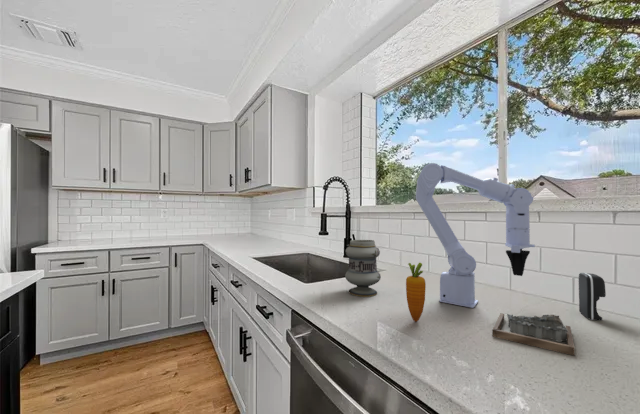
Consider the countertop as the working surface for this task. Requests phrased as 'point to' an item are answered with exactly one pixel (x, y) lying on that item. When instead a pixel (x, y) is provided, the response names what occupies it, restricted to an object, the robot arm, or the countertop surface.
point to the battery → (590, 294)
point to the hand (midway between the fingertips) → (518, 275)
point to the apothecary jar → (362, 267)
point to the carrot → (415, 292)
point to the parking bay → (534, 339)
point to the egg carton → (538, 326)
